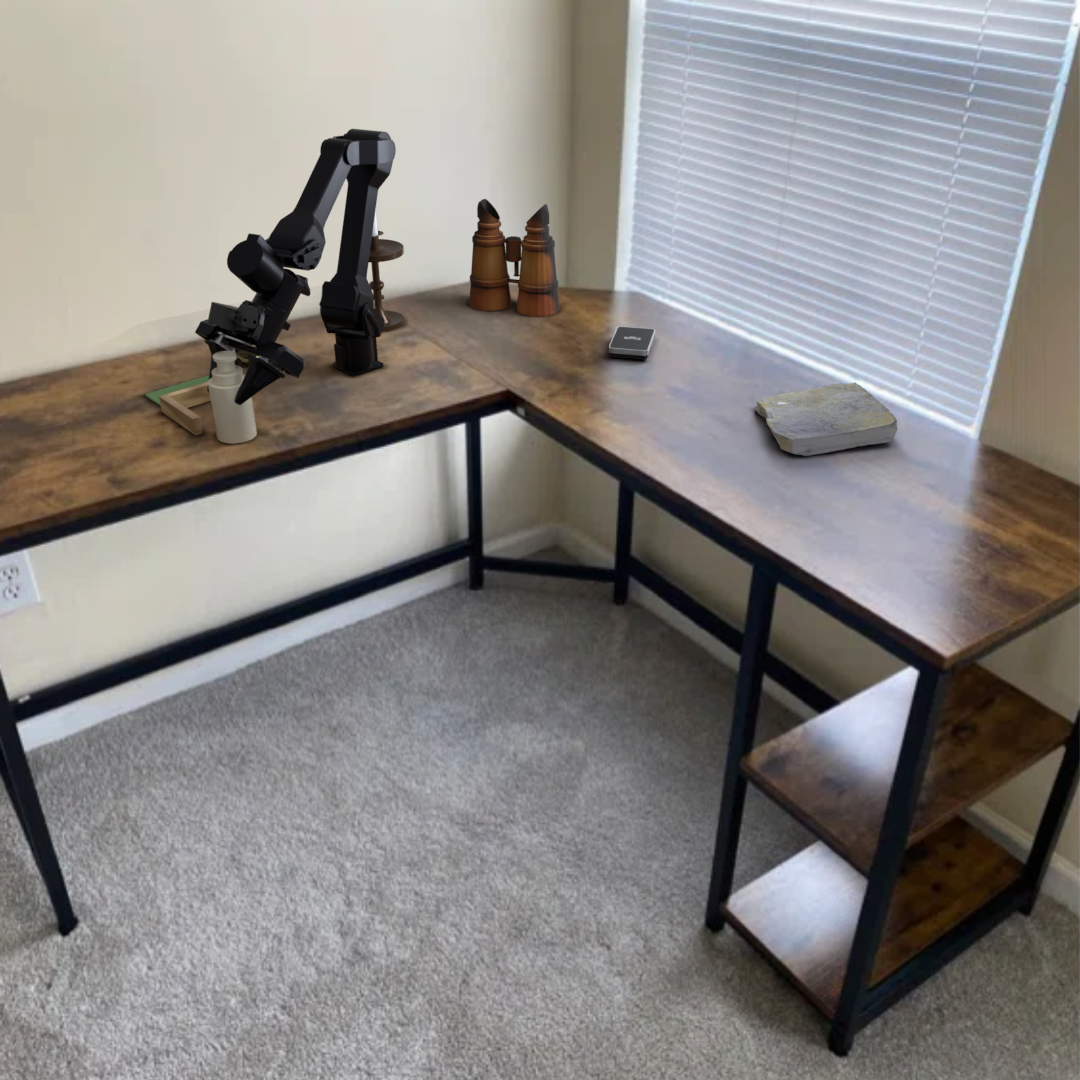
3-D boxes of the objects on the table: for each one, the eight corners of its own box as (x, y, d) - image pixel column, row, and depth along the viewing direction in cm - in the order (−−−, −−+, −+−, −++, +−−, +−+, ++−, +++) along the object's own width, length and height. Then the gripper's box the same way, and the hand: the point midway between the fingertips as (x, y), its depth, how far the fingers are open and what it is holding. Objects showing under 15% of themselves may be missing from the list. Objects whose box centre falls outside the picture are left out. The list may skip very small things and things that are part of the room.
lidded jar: (244, 423, 174) (232, 344, 168) (264, 435, 171) (253, 355, 164) (209, 434, 171) (196, 354, 164) (229, 447, 167) (215, 366, 160)
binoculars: (462, 308, 219) (458, 204, 209) (477, 294, 226) (474, 194, 215) (552, 318, 214) (552, 213, 204) (565, 304, 221) (566, 201, 210)
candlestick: (420, 322, 212) (409, 129, 194) (377, 337, 205) (361, 139, 187) (381, 309, 218) (367, 120, 200) (338, 324, 211) (319, 130, 193)
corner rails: (234, 390, 185) (231, 374, 184) (269, 411, 178) (267, 395, 177) (161, 412, 178) (158, 396, 176) (195, 435, 171) (192, 419, 169)
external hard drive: (654, 339, 205) (655, 328, 204) (647, 362, 196) (647, 351, 195) (617, 336, 206) (617, 326, 205) (607, 358, 197) (608, 348, 196)
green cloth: (211, 376, 190) (211, 374, 190) (229, 387, 186) (228, 385, 186) (144, 396, 183) (144, 394, 183) (161, 407, 179) (161, 405, 179)
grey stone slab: (736, 416, 179) (781, 458, 164) (739, 389, 176) (785, 429, 161) (851, 408, 183) (905, 448, 168) (855, 381, 181) (910, 419, 166)
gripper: (195, 266, 166) (145, 359, 165) (279, 292, 156) (227, 390, 155) (244, 303, 176) (198, 391, 174) (326, 330, 166) (278, 423, 164)
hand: (223, 398), depth 167 cm, fingers closed on lidded jar, 6 cm apart
